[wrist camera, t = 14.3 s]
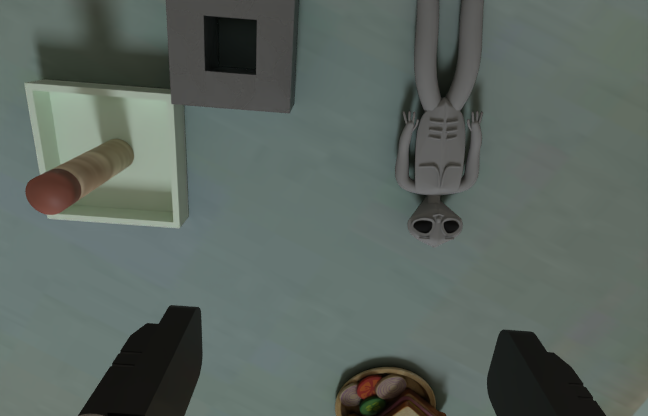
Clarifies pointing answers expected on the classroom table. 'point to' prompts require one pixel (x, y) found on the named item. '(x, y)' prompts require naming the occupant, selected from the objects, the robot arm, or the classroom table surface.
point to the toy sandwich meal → (386, 394)
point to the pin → (78, 177)
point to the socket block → (227, 82)
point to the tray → (115, 123)
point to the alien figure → (441, 125)
